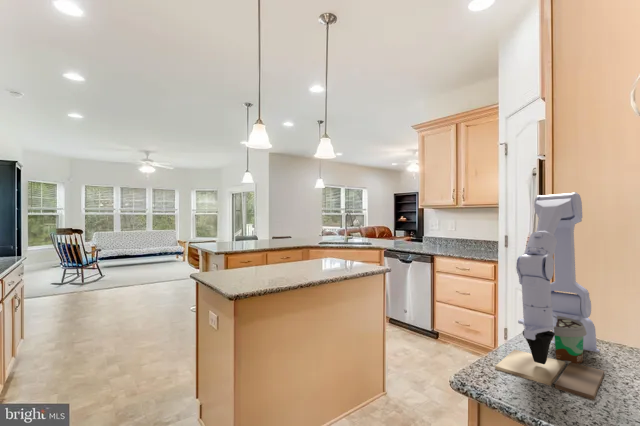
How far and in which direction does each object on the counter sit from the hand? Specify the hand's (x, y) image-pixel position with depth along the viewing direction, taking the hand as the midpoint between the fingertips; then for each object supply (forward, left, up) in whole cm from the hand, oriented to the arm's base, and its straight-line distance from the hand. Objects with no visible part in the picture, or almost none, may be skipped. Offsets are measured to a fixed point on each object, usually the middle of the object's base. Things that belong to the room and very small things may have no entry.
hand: (540, 362), depth 73 cm
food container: (-13, -4, -3) cm, 14 cm away
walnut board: (-4, +6, -3) cm, 8 cm away
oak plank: (+1, -2, -2) cm, 3 cm away
